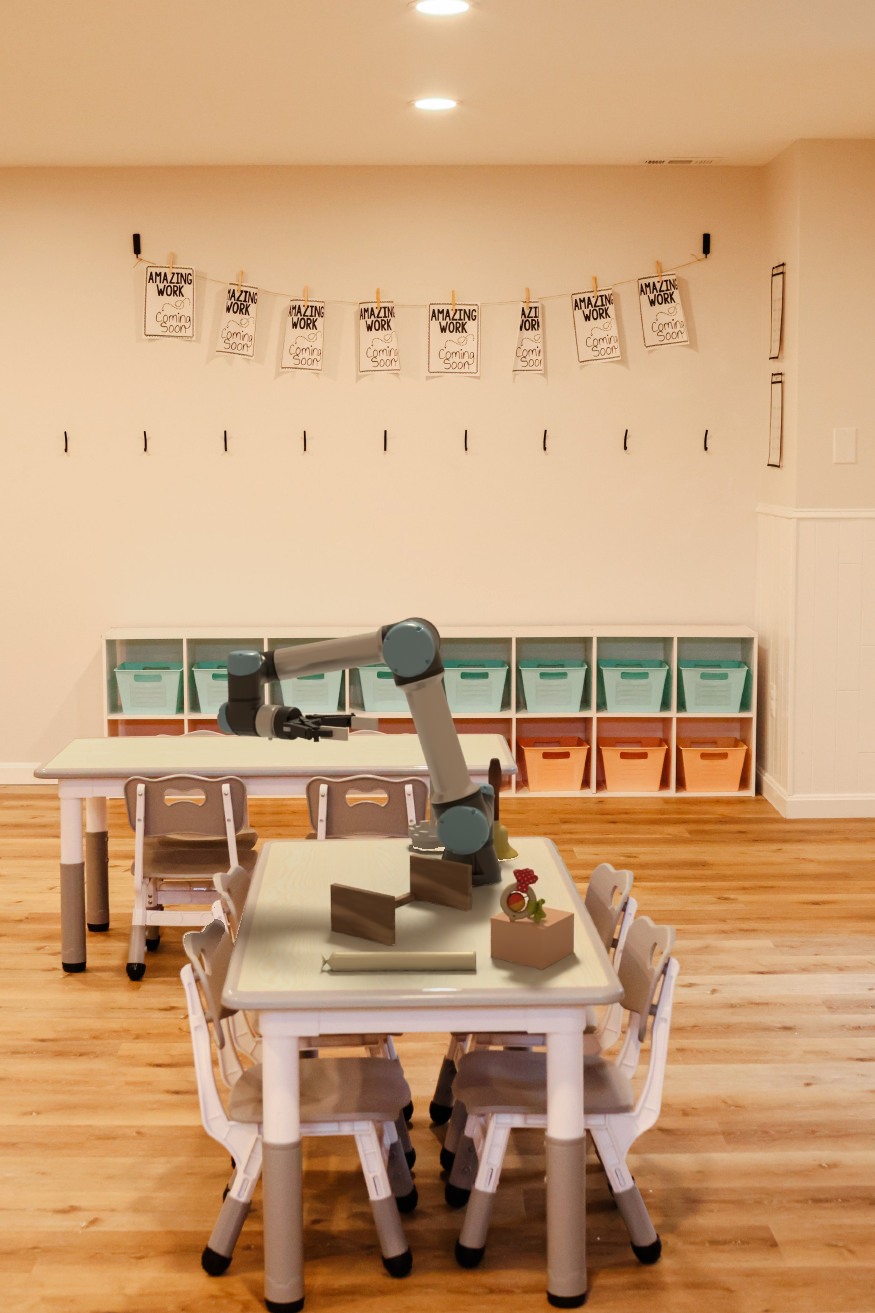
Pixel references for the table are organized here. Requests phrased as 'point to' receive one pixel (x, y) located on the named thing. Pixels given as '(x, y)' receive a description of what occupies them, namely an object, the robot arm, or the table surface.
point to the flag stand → (425, 829)
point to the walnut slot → (399, 899)
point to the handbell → (500, 831)
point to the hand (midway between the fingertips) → (362, 729)
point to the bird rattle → (522, 897)
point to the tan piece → (401, 961)
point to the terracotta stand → (533, 938)
